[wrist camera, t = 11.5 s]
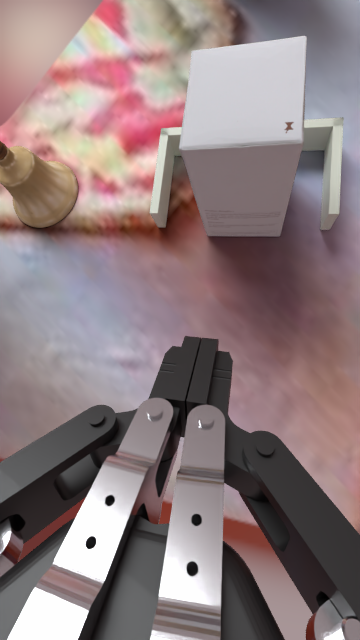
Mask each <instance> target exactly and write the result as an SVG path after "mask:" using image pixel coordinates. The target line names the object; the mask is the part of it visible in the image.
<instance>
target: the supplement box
mask: <svg viewBox="0 0 360 640" xmlns="http://www.w3.org/2000/svg"><path fill="white" fill-rule="evenodd" d="M306 43H307V37H306V36H299V37H292V38H286V39H278V40H271V41H264V42H256V43H249V44H241V45H234V46H226V47H218V48H210V49H202V50H194V51H192V55H191V64H190V73H189V82H188V89H187V95H186V103H185V110H184V117H183V124H182V131H181V138H180V144H179V150H180V153H181V155H182V158H183V160H184V163H185V167H186V170H187V173H188V176H189V179H190V183H191V186H192V189H193V192H194V196H195V199H196V202H197V205H198V209H199V212H200V215H201V218H202V222H203V224H204V227H205V230H206V233H207V236H275V237H279V236H280V235H281V231H282V227H283V223H284V219H285V215H286V211H287V207H288V203H289V199H290V195H291V191H292V187H293V183H294V179H295V175H296V171H297V167H298V163H299V159H300V155H301V151H302V147H303V142H304V109H305V70H306Z"/></svg>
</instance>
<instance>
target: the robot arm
mask: <svg viewBox="0 0 360 640" xmlns="http://www.w3.org/2000/svg"><path fill="white" fill-rule="evenodd" d="M218 342H219V341H218V339H209V338H202V339H201V338H199V337H189V336H185V338H184V341H183V344H182V347H176V346H172V347H171V348H170V349H169V350H168V351H167V352H166V353H165V356H164V359H163V361H162V364H161V367H160V371H159V372H158V375H157V378H156V380H155V383H154V386H153V388H152V391H151V394H150V397H149V399H148V400H146V401H144V402H143V403H142V404H141V405H140V406H139V408H138V409H136V410H133V411H128V412H121V413H115V412H114V410H113V409H112V408H110V407H109V406H106V405H97V406H93V407H91V408H89V409H87V410H86V411H84V412H82V413H81V414H79V415H78V416H76V417H74V418H73V419H71V420H69V421H68V422H66V423H64V424H63V425H61V426H59V427H58V428H56V429H54V430H53V431H51V432H49V433H48V434H46V435H45V436H43V437H41V438H40V439H38V440H36V441H35V442H33V443H31V444H30V445H28V446H26V447H25V448H23V449H21V450H20V451H18V452H16V453H15V454H13V455H12V456H10V457H8V458H7V459H5V460H3V461H2V462H0V640H285V639H284V637H283V635H282V633H281V631H280V629H279V627H278V625H277V623H276V621H275V619H274V617H273V615H272V613H271V611H270V609H269V607H268V605H267V603H266V601H265V599H264V597H263V595H262V593H261V591H260V589H259V587H258V585H257V583H256V581H255V579H254V577H253V575H252V573H251V571H250V569H249V568H248V566H247V565H246V563H245V562H244V560H243V559H242V558H241V557H240V555H239V554H238V553H237V552H236V551H235V550H234V549H233V548H232V547H231V546H229V545H228V544H227V543H225V542H224V541H223V505H224V483H226V484H227V485H229V486H231V487H233V488H234V489H236V490H238V491H239V494H240V496H241V498H242V499H243V501H244V502H245V504H246V506H247V507H248V509H249V511H250V512H251V514H252V515H253V517H254V519H255V520H256V522H257V524H258V525H259V527H260V529H261V530H262V532H263V533H264V535H265V537H266V538H267V540H268V542H269V543H270V545H271V546H272V548H273V550H274V551H275V553H276V555H277V556H278V558H279V559H280V561H281V563H282V564H283V566H284V568H285V569H286V571H287V573H288V574H289V576H290V578H291V579H292V581H293V582H294V584H295V586H296V587H297V589H298V591H299V592H300V594H301V596H302V597H303V599H304V600H305V602H306V604H307V605H308V607H309V608H310V610H311V612H312V614H313V615H312V616H311V618H310V619H309V621H308V624H307V628H306V640H360V535H359V533H358V532H357V531H356V530H355V529H354V527H353V526H352V525H351V524H350V523H349V521H348V520H347V519H346V518H345V517H344V515H343V514H342V513H341V512H340V511H339V509H338V508H337V507H336V506H335V505H334V503H333V502H332V501H331V500H330V499H329V497H328V496H327V495H326V494H325V493H324V491H323V490H322V489H321V488H320V487H319V485H318V484H317V483H316V482H315V481H314V479H313V478H312V477H311V476H310V475H309V473H308V472H307V471H306V470H305V469H304V467H303V466H302V465H301V464H300V463H299V461H298V460H297V459H296V458H295V457H294V455H293V454H292V453H291V452H290V451H289V449H288V448H287V447H286V446H285V445H284V443H283V442H282V441H281V440H280V439H279V438H278V437H277V436H276V435H274V434H272V433H270V432H267V431H255V432H252V433H249V432H247V431H245V430H242V429H241V428H239V427H237V426H236V425H235V424H234V423H233V422H232V421H231V420H230V418H229V416H228V407H229V397H230V388H231V377H232V363H233V361H232V358H231V356H230V354H229V352H222V351H218ZM180 437H185V438H184V445H183V452H182V459H181V466H180V470H179V471H178V473H177V478H176V484H175V491H174V497H173V504H172V511H171V519H170V523H169V524H158V523H159V519H160V514H161V505H162V501H163V497H164V494H165V491H166V488H167V485H168V482H169V478H170V475H171V472H172V469H173V466H174V463H175V460H176V456H177V449H178V445H179V441H180ZM86 496H87V497H86ZM85 497H86V499H85V501H84V503H83V505H82V507H81V509H80V511H79V512H78V514H77V516H76V518H74V519H72V520H71V521H69V522H67V523H66V524H65V525H63V526H62V527H61V528H59V529H58V530H57V531H56V532H54V533H53V534H52V535H51V536H50V537H48V538H47V539H46V540H45V541H44V542H42V543H41V544H40V545H39V546H37V547H36V548H35V549H34V550H33V551H31V552H30V553H29V554H28V555H26V556H25V557H24V558H23V559H22V560H20V561H19V562H18V560H19V557H20V554H21V552H22V547H23V544H24V543H25V542H27V541H28V540H29V539H31V538H32V537H33V536H34V535H36V534H37V533H39V532H40V531H41V530H42V529H44V528H45V527H46V526H47V525H49V524H50V523H52V522H53V521H54V520H56V519H57V518H58V517H60V516H61V515H62V514H64V513H65V512H66V511H67V510H69V509H70V508H72V507H73V506H74V505H76V504H77V503H78V502H80V501H81V500H82V499H83V498H85ZM17 562H18V563H17Z"/></svg>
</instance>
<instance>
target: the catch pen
mask: <svg viewBox="0 0 360 640" xmlns="http://www.w3.org/2000/svg"><path fill="white" fill-rule="evenodd" d="M181 131H182V127H177V128H161V134H160V141H159V149H158V156H157V163H156V171H155V178H154V185H153V193H152V200H151V207H150V214H151V216H152V218H153V219H154V221H155V223H156V224H157V226H158V227H164V228H166V221H167V213H168V206H169V198H170V190H171V182H172V174H173V167H174V159H175V156H182V155H181V153H180V150H179V144H180V138H181ZM342 138H343V118H327V119H311V120H304V142H303V147H302V151H316V150H324V168H323V187H322V206H321V225H320V230H330V228H331V227H332V225H333V223H334V222H335V220H336V218H337V217H338V215H339V206H340V183H341V160H342Z"/></svg>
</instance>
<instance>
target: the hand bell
mask: <svg viewBox="0 0 360 640" xmlns="http://www.w3.org/2000/svg"><path fill="white" fill-rule="evenodd" d="M0 183H1V184H2V185H3V186H4V187H5V188H6V189H7V190H8V191H9V192H10V194H11V195H12V197H13V206H14V209H15V212H16V214H17V216H18V217H19V219H20V220H21V221H22V222H24V223H25V224H27V225H29V226H32V227H37V228H42V227H48V226H51V225H54V224H56V223H57V222H59V221H60V220H62V219H63V218H64V217H65V216H66V215H67V214H68V213H69V212H70V211H71V209H72V208H73V206H74V204H75V201H76V198H77V194H78V183H77V179H76V176H75V174H74V173H73V171H72V170H71V169H70V168H69V167H68V166H66V165H64V164H62V163H59V162H56V161H43V160H42V159H40V158H39V157H37V156H36V155H35V154H33V153H32V152H31V151H30V150H29V149H27V148H25V147H21V146H15V147H11V148H9V149H8V148H7V147H6V146H5V144H3V143H2V142H0Z"/></svg>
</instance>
